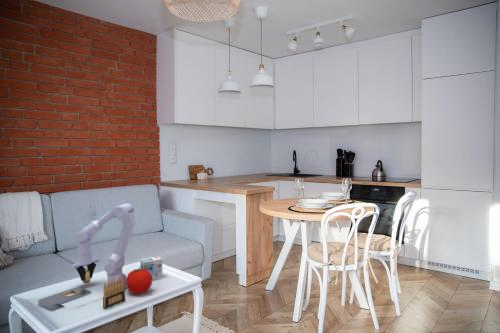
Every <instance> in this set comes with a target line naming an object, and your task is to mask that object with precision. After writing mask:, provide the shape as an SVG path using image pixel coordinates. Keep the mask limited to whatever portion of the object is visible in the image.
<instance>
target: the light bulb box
mask: <svg viewBox="0 0 500 333" xmlns="http://www.w3.org/2000/svg"><path fill="white" fill-rule="evenodd" d="M139 263H140V265H139V267H140V269H146V270H147V271H149V273H150V274H151V276H152V281H155V280H159V279H163V258H162V257H160V256H159V255H157V256H154V257H153V256H151V257H148V258H141V259H140V260H139Z"/></svg>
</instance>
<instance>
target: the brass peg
mask: <svg viewBox="0 0 500 333" xmlns="http://www.w3.org/2000/svg"><path fill="white" fill-rule="evenodd" d="M82 283H83V284H87V283H91V279H90V270H88V269H85V281H82Z"/></svg>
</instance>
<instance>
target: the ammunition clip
mask: <svg viewBox="0 0 500 333" xmlns="http://www.w3.org/2000/svg"><path fill="white" fill-rule="evenodd" d="M125 292H126V290H124V284H123V278H122V276H121V278H120V280H119V277H118V278H117V283H116V279H114V286H113V280H112V279H111V286H110V282H109V280H107V282H106V281H104V283H103V297H102V308H103V309H105V310H107V309H106V308H108V307H110V308H112V307H114V306H113V305H115V304H117V305H119V304H121V303H120V302H122V303H124V302H126V293H125ZM123 301H124V302H123ZM118 303H119V304H118ZM111 306H112V307H111ZM115 306H116V305H115ZM108 309H109V308H108Z"/></svg>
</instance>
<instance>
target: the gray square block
mask: <svg viewBox="0 0 500 333" xmlns="http://www.w3.org/2000/svg"><path fill="white" fill-rule="evenodd" d="M94 286H95V284H94V283H91V282H89V283H83V284H81V285H78V286H77V287H79V288H82V289H85V290H86V289H88V288H91V287H94Z"/></svg>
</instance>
